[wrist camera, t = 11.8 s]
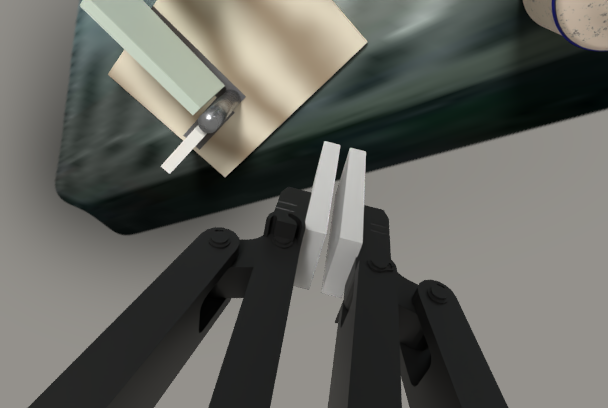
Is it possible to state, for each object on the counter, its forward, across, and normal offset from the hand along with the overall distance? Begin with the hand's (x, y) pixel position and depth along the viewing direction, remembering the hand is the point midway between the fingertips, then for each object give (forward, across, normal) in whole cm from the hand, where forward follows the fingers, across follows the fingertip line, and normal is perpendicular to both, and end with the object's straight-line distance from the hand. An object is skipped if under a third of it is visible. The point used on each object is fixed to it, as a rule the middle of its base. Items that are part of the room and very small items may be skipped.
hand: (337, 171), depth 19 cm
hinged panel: (+26, -19, -4) cm, 32 cm away
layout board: (+27, -13, -5) cm, 30 cm away
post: (+27, -12, -9) cm, 31 cm away
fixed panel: (+26, -15, -13) cm, 32 cm away
